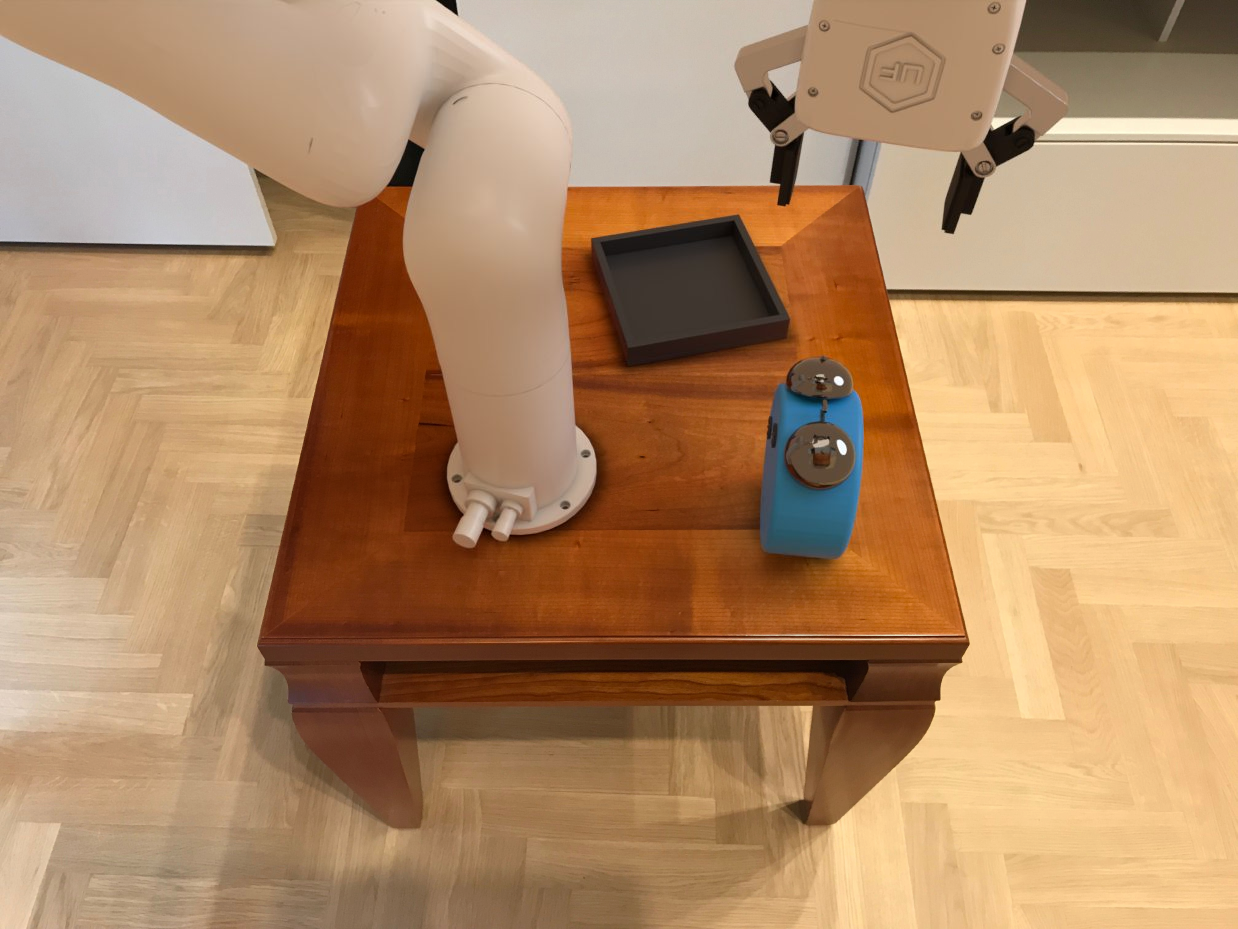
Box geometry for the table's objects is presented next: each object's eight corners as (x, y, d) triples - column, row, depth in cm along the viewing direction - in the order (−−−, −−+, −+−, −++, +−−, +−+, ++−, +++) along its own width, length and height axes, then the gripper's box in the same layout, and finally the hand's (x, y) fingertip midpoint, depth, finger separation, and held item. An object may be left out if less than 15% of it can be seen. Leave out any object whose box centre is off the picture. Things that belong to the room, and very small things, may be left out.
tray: (786, 338, 90) (790, 318, 88) (627, 367, 88) (627, 347, 86) (736, 233, 99) (739, 213, 97) (591, 257, 97) (590, 237, 95)
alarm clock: (833, 592, 74) (873, 480, 62) (753, 584, 74) (778, 471, 62) (831, 459, 81) (867, 336, 69) (759, 452, 82) (782, 329, 70)
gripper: (738, -89, 42) (711, 220, 56) (1150, -43, 39) (1014, 272, 53) (768, -157, 46) (736, 146, 60) (1140, -119, 43) (1017, 190, 57)
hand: (866, 205), depth 56 cm, fingers open, 9 cm apart
